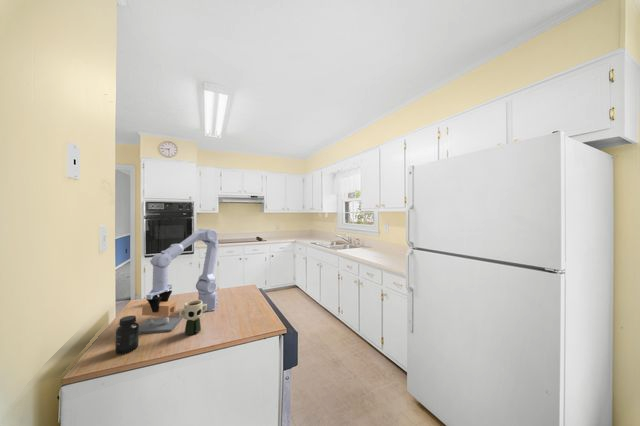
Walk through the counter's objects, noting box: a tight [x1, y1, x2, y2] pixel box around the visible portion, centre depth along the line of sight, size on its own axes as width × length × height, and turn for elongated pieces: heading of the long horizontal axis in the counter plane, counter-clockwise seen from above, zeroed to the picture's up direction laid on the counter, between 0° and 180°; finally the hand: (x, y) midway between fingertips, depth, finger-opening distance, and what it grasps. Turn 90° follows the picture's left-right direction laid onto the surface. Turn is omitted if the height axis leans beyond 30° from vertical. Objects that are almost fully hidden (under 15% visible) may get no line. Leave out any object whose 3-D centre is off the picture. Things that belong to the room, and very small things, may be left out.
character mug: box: [178, 299, 207, 335], centre depth 102 cm, size 11×7×13 cm, turn 132°
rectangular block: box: [141, 301, 177, 317], centre depth 106 cm, size 12×5×4 cm, turn 90°
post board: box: [139, 316, 183, 335], centre depth 106 cm, size 15×12×4 cm
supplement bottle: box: [114, 315, 140, 355], centre depth 88 cm, size 7×7×12 cm
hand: (159, 309), depth 106 cm, fingers closed on rectangular block, 5 cm apart
